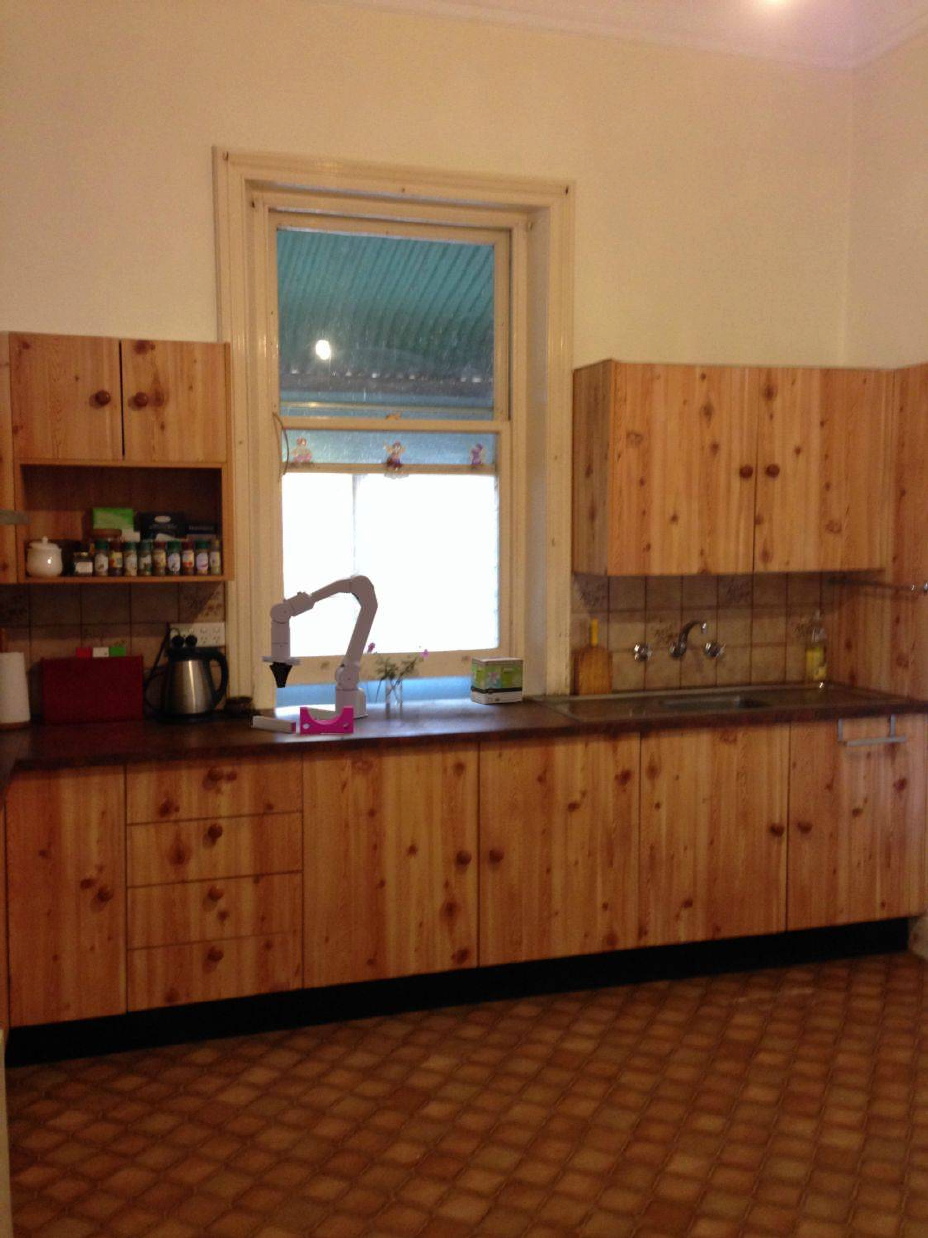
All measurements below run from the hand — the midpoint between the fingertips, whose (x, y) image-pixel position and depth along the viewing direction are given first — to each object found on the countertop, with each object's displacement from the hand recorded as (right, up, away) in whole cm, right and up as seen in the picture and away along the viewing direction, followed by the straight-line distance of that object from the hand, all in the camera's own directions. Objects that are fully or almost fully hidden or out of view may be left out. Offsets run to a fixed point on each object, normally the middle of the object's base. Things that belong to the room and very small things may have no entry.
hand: (281, 687), depth 328 cm
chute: (+7, -11, -7) cm, 14 cm away
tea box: (+66, -7, +39) cm, 77 cm away
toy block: (+16, -12, -18) cm, 27 cm away
